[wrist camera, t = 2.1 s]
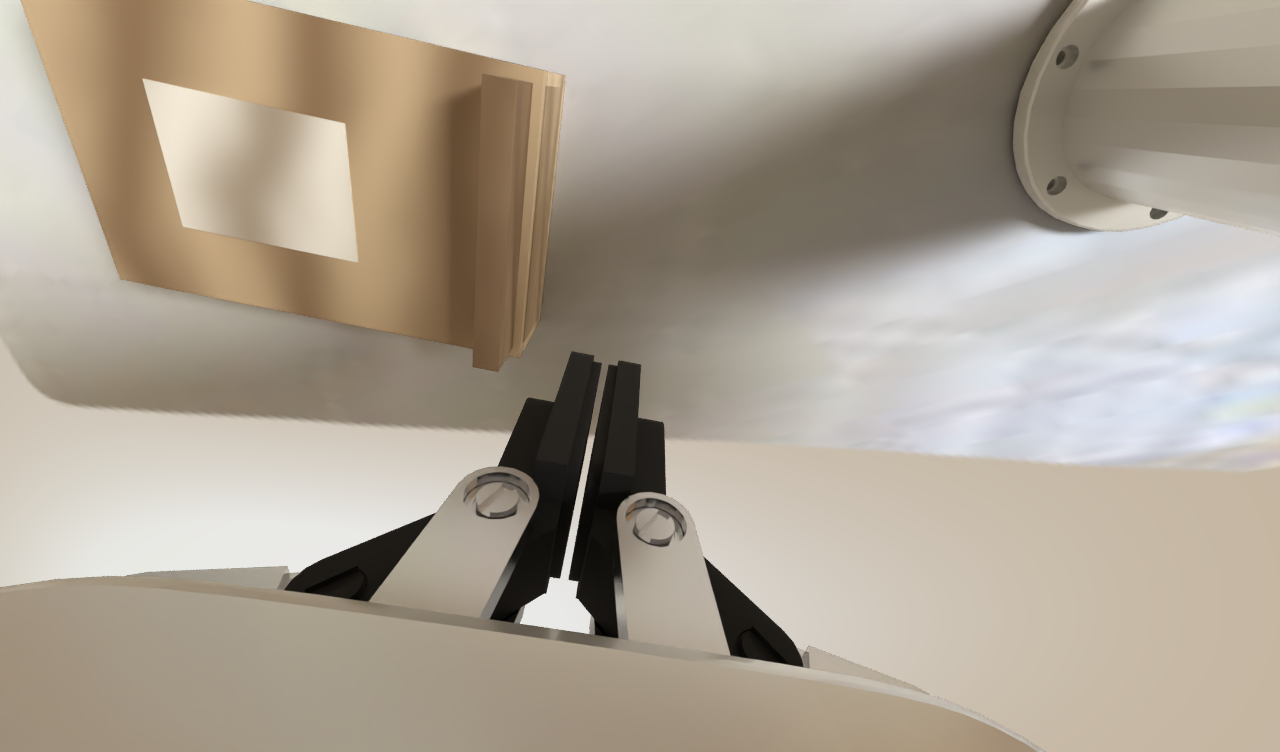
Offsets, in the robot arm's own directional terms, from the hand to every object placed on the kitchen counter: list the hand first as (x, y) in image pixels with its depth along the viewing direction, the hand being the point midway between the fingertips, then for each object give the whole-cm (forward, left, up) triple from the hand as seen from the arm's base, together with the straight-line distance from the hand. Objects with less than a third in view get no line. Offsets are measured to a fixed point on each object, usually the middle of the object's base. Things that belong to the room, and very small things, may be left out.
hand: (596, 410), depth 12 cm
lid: (+15, 0, -13) cm, 20 cm away
